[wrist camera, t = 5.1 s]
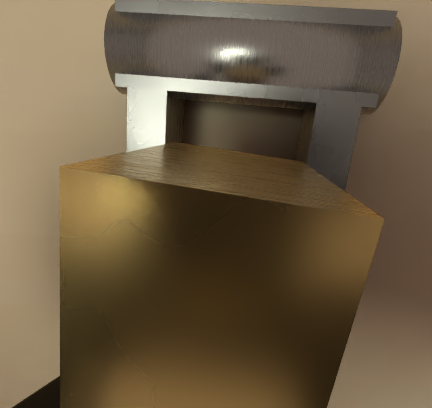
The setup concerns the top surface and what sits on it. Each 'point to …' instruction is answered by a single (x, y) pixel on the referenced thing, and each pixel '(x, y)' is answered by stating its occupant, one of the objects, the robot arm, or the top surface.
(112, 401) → the gold ingot
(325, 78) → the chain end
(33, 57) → the top surface
